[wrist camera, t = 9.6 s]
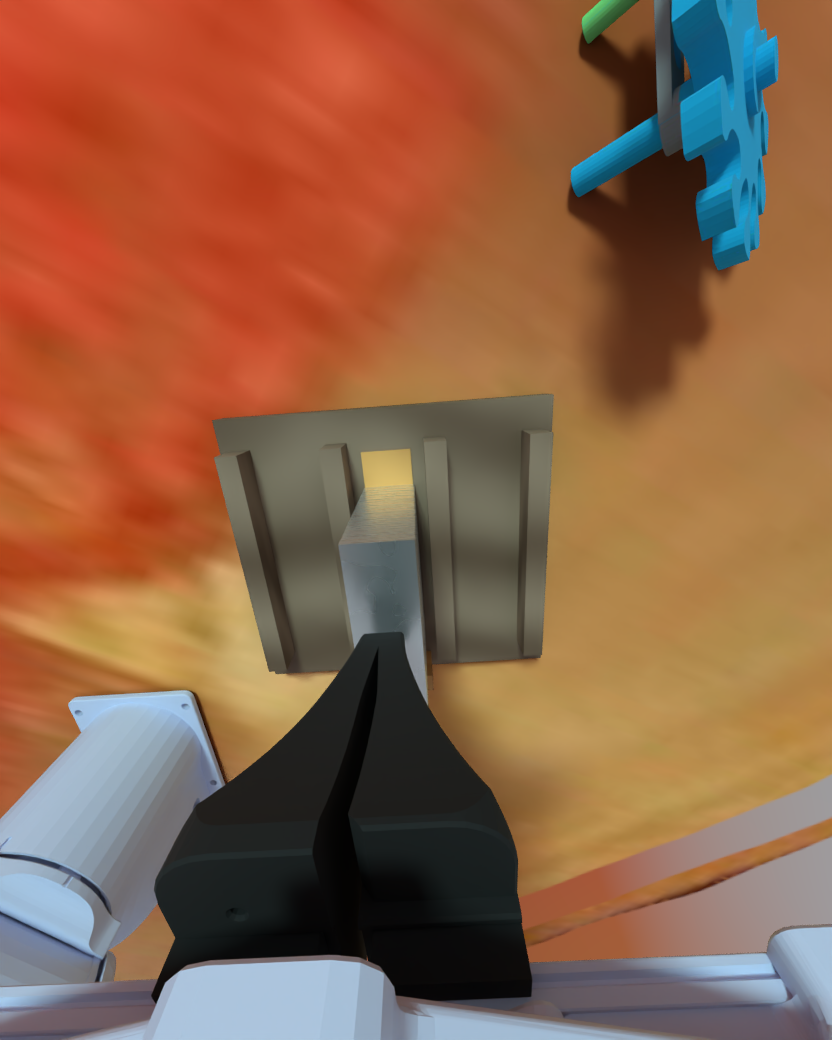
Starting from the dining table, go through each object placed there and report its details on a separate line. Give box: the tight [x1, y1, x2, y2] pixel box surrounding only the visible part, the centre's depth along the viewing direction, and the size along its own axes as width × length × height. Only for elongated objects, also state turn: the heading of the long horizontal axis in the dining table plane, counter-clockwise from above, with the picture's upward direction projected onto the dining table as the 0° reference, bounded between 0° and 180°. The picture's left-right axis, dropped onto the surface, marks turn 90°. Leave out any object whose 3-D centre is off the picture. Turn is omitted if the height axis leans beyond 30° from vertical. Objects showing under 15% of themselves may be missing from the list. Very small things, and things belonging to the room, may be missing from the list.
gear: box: [571, 0, 778, 270], centre depth 13 cm, size 11×6×10 cm
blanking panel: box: [338, 484, 429, 707], centre depth 17 cm, size 8×2×7 cm, turn 4°
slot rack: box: [212, 394, 554, 690], centre depth 20 cm, size 15×16×3 cm
